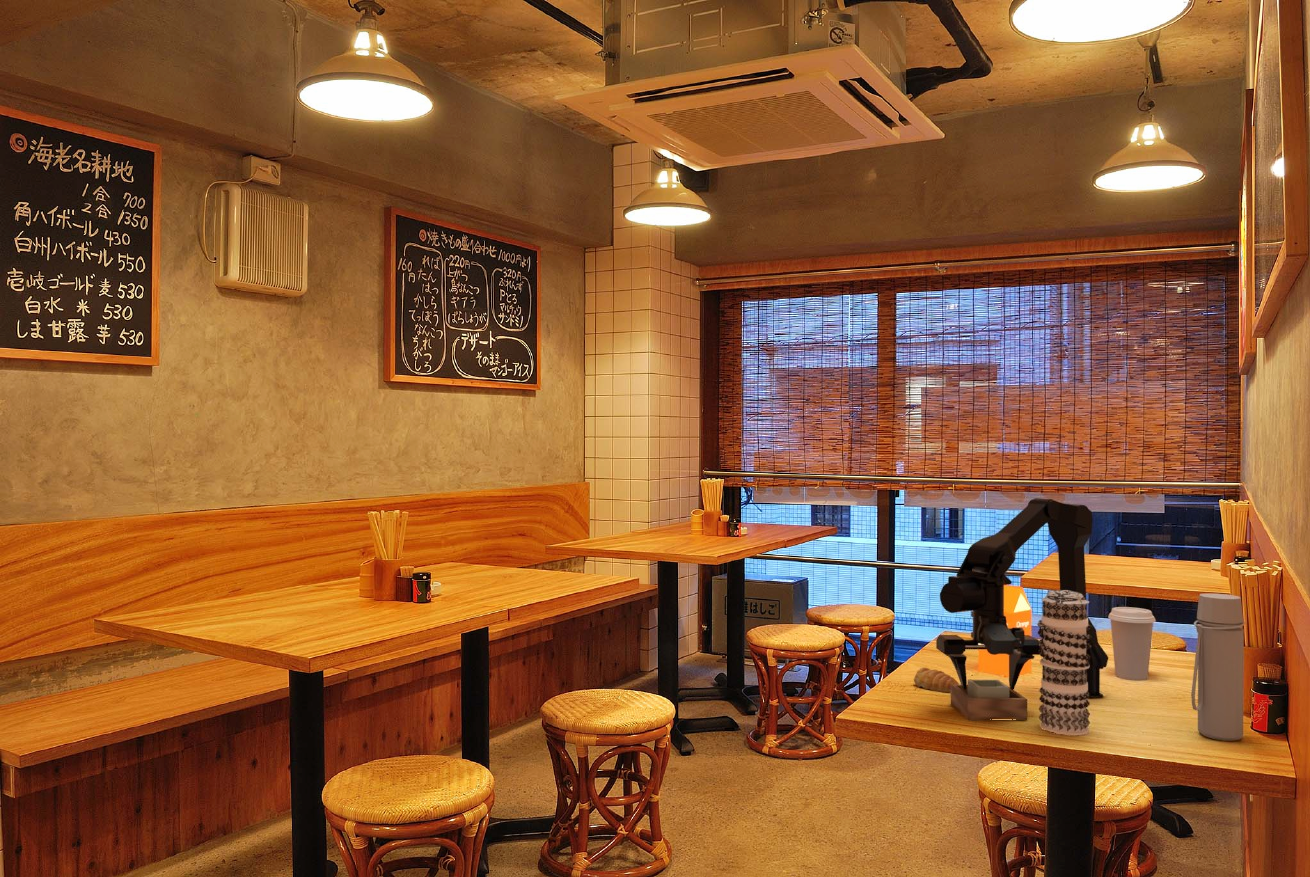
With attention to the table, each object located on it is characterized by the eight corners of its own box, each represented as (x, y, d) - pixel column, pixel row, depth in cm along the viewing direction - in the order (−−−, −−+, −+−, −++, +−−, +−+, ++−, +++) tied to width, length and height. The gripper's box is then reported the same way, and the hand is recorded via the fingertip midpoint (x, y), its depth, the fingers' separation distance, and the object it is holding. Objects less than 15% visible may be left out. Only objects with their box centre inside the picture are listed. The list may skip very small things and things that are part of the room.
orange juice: (1013, 678, 215) (1013, 588, 215) (977, 671, 222) (978, 583, 222) (1031, 673, 220) (1032, 585, 220) (996, 666, 227) (997, 580, 227)
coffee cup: (1109, 679, 214) (1109, 611, 214) (1106, 670, 223) (1106, 605, 223) (1157, 683, 211) (1157, 615, 211) (1153, 674, 220) (1153, 608, 220)
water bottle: (1222, 728, 177) (1222, 592, 178) (1255, 742, 170) (1255, 599, 170) (1177, 731, 176) (1177, 593, 176) (1208, 744, 168) (1208, 600, 168)
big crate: (1005, 704, 193) (1005, 684, 193) (1027, 720, 182) (1027, 699, 182) (950, 704, 193) (950, 684, 193) (969, 720, 182) (969, 699, 182)
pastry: (966, 691, 205) (966, 673, 205) (946, 696, 200) (946, 677, 200) (929, 682, 212) (929, 664, 212) (910, 687, 208) (910, 669, 208)
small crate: (997, 705, 191) (997, 679, 191) (1009, 713, 185) (1009, 687, 185) (967, 704, 191) (967, 679, 191) (977, 713, 185) (978, 687, 185)
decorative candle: (1046, 718, 184) (1046, 586, 184) (1098, 727, 178) (1098, 591, 178) (1029, 729, 177) (1030, 592, 177) (1083, 739, 171) (1083, 597, 171)
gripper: (953, 615, 180) (953, 700, 179) (1053, 616, 180) (1053, 700, 180) (935, 605, 191) (935, 685, 191) (1030, 606, 191) (1029, 685, 191)
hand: (988, 689), depth 188 cm, fingers open, 9 cm apart
